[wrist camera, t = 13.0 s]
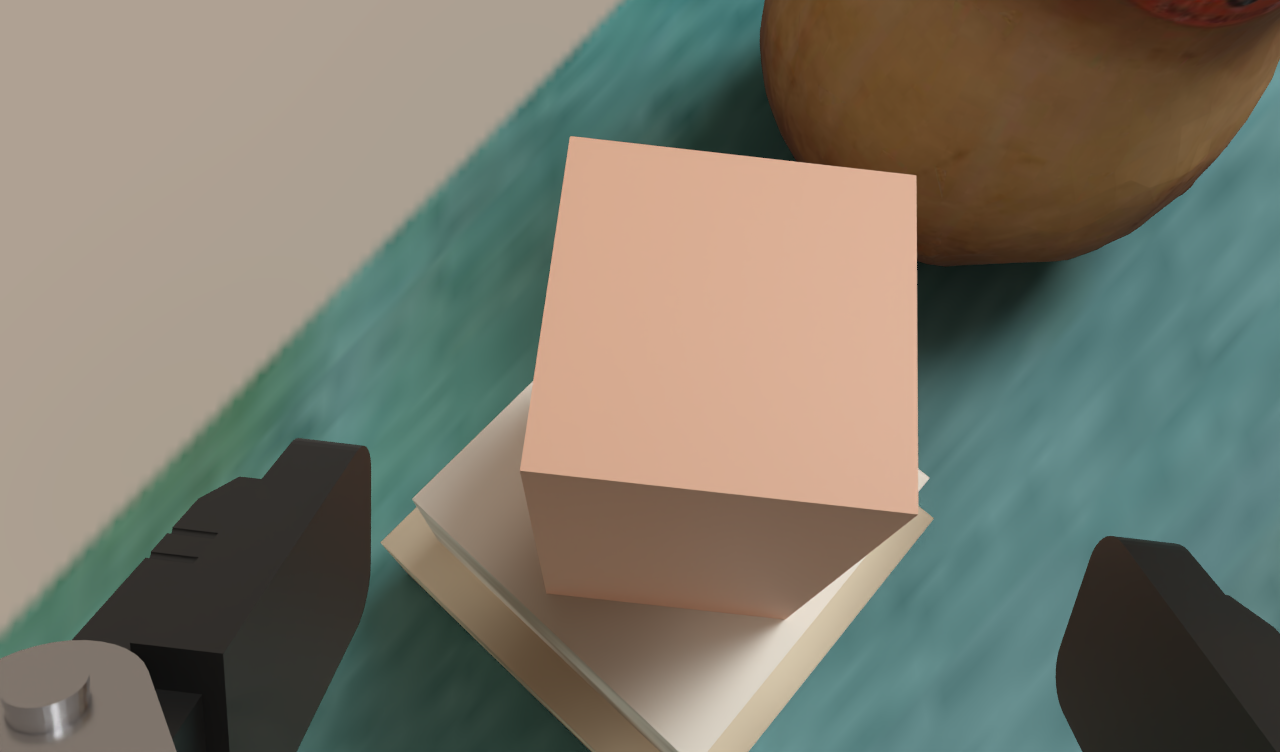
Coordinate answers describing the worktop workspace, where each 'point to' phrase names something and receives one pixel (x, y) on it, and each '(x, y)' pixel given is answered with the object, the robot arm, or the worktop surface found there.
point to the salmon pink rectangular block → (722, 378)
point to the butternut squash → (1019, 108)
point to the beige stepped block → (614, 617)
